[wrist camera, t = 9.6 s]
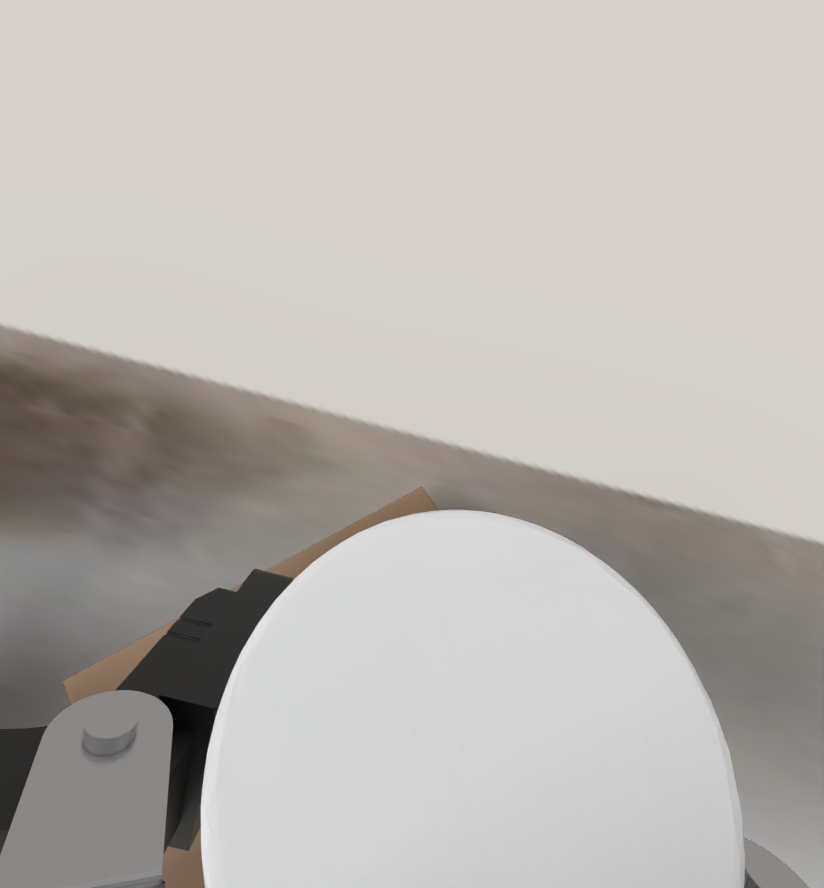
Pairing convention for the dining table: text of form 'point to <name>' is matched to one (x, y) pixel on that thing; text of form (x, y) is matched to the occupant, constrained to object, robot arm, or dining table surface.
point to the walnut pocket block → (110, 672)
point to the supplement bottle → (466, 725)
